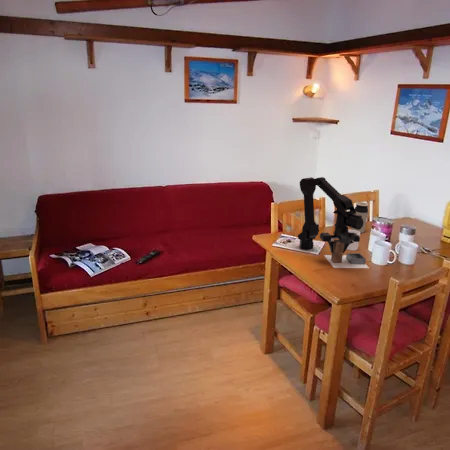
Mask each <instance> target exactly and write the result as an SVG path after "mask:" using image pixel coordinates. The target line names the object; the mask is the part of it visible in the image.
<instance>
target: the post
mask: <svg viewBox="0 0 450 450" xmlns="http://www.w3.org/2000/svg"><path fill="white" fill-rule="evenodd" d="M333 241H334V244H333V253H331V255H332V258H331V260H332V261H333V262H334V263H342V256H343V254H344V253H343V250H344V243H340V241H339V239H333Z"/></svg>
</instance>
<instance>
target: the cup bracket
mask: <svg viewBox="0 0 450 450" xmlns="http://www.w3.org/2000/svg"><path fill="white" fill-rule="evenodd" d="M345 255H346V259H347V260H348V261H349V262H350V264H366V260H367V259H366V258H365V257H364V255H363V254H361V253H359V252H357V253H355V252H354V253H353V252H352V253H351V252H347V253H346V254H345Z"/></svg>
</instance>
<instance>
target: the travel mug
mask: <svg viewBox="0 0 450 450" xmlns="http://www.w3.org/2000/svg"><path fill="white" fill-rule="evenodd" d="M355 204H356V205H355V206H354V209H355V211H356V214H357V215H361V216H362V219H363V222H364V224H363V226H362V228H361V229H360V230H357V229H354V228H351V230H356V231H359V232H360V234H361V233H363V234H364V233H365V232H366V225H367V219H368V213H369V208H368V206H369V203H366V202H362V201H359V202H356V203H355Z"/></svg>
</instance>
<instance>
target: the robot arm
mask: <svg viewBox="0 0 450 450" xmlns="http://www.w3.org/2000/svg"><path fill="white" fill-rule="evenodd" d="M317 187H319V189H320V190H321V191H323V193H324V194H325V195H326V196H328V198H330V200H331V201H332V202H333V206H334V207H335V209H336V210H334V211H333V214H336V218H335V223H334V225H333V226H334V231H333V234H330V233H329V232H321V233H320V234H319V232H320V227H319V226H320V225H319V224H318V223H316V221H315V208H314V205H315V204H314V193H315V191H316V188H317ZM299 189H300V191H301V193H302V195H303V206H304V223H303V225H302V228H301V229H302V230H301V232H300V233H299V234H297V239H298V240H299V246H298V247H299V248H300V249H301V250H305V251H308V250H313V249H314V240H315V239H316V238H317V236H318V235H319V239H320V240H322V242H327V243H328V246H329V250H330V253H331V254H332V253H333V244H334V240H339V241H340V243H344V250H343V254H345V252H346V249H347V247H348V246H349V245H350V244H351V243H353V242H359V243H360V241H361V238H360V237H361V236H360V237H359V236H358V235H357V234H356V233H348V230H349V228H351V229H352V228H354V229H357V230H360V229H361V228H362V226H363V224H364V222H363V219H362V216H361V215H357V214H356V211H355V206H354V204H353V200H352V199H350V197H348V196H346V195H344V194H342V193H340V192H339V191H338V190H337V189H336V188H335V187H334V186H333V185H331V183H330V182H328V181H327V179H326V178H325V177H323V176H321V177H316V178H314V177H311V176H310V177H305V178H301V179H300V181H299Z"/></svg>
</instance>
